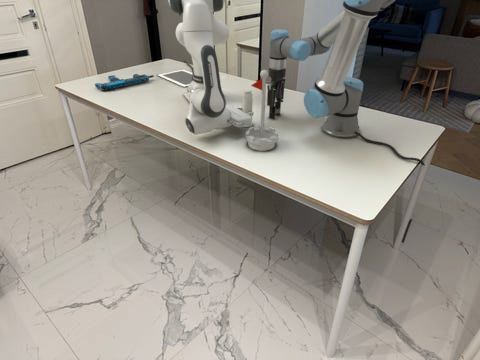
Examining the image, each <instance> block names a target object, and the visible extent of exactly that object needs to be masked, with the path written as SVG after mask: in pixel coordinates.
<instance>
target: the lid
mask: <svg viewBox="0 0 480 360" xmlns="http://www.w3.org/2000/svg"><path fill="white" fill-rule="evenodd" d="M279 112H280V113H281V108H280V107H278V106H275V114H278V113H279Z"/></svg>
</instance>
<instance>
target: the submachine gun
mask: <svg viewBox="0 0 480 360" xmlns="http://www.w3.org/2000/svg"><path fill="white" fill-rule="evenodd" d="M107 77H108V80H109V82H103V83H100V82H96V83H94V86H95V88H97V89H98V90H100V91H107V90H113V91H114V90H115V89H116V88H120V87H125V86H129V85H134V84H138V83H139V84H140V83H145V82H146V83H147V81H148V80H150V79H151V78H154V77H155V76H154V74H151V75H147V74H138V73H134V74H133V75H132V77H129V78H121V79H120V78H118V77H117V76H116V75H113V74H112V75H108V76H107Z"/></svg>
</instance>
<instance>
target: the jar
mask: <svg viewBox="0 0 480 360" xmlns="http://www.w3.org/2000/svg"><path fill="white" fill-rule="evenodd" d="M242 92H243V93H242V94H241V95H242V96H241V98H242V99H241V101H242V103H241V108H242V111H243V112H244V113H248V112H249V111H252V112H253V95H254V94H253V93H252V89H251V88H245V89H243V90H242ZM251 117H252V118H253V116H251ZM251 127H253V123H252V124H251V125H249V126H244V127H243V128H251Z"/></svg>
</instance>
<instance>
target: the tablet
mask: <svg viewBox="0 0 480 360" xmlns="http://www.w3.org/2000/svg"><path fill="white" fill-rule="evenodd" d="M192 74H193V72H192V71H188V70H186V69H179V70H174V71H170V72H164V73H160V74H157V75H156V76H157V77H159V78H162V79H165V80H167V81H169V82H171V83H174V84H176V85H178V86H180V87H181V88H182V87H183V88H188V85H189V84H190V83H191V82H192Z"/></svg>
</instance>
